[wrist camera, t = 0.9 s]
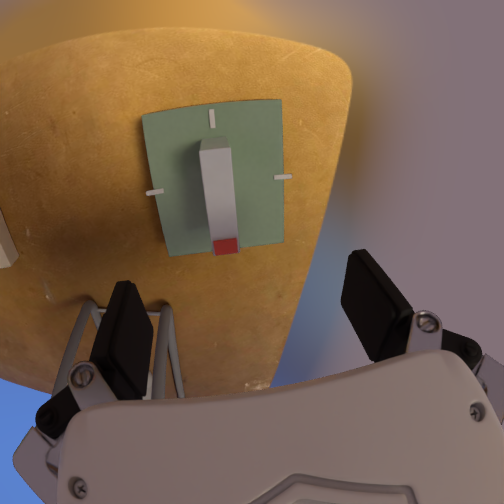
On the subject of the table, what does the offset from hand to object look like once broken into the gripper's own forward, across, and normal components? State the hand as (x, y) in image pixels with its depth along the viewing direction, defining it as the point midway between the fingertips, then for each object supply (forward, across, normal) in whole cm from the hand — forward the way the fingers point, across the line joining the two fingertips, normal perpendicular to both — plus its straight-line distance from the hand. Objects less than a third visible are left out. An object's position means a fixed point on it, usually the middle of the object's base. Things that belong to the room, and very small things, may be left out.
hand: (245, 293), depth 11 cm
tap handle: (+11, +1, -1) cm, 11 cm away
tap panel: (+14, +1, -1) cm, 14 cm away
